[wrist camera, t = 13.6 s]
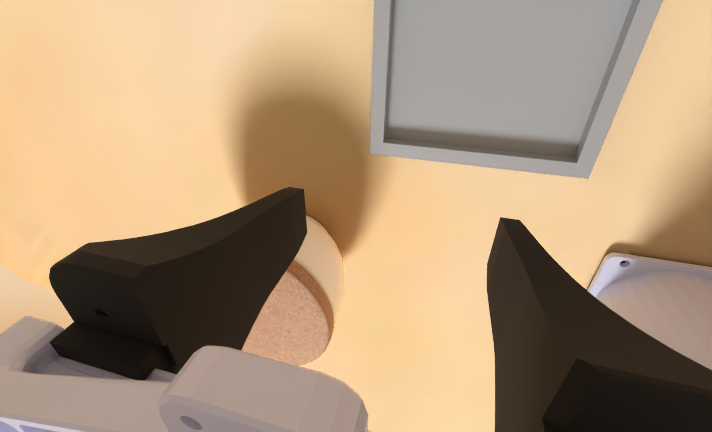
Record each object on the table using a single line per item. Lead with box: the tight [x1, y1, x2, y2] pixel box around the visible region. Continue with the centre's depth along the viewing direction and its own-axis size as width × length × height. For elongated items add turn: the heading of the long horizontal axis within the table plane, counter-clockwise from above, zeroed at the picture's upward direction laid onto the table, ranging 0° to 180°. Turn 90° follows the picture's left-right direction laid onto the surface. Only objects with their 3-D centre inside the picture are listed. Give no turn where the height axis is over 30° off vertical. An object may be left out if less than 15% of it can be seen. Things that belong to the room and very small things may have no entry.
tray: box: [370, 0, 663, 179], centre depth 18 cm, size 12×9×1 cm
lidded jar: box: [241, 215, 345, 366], centre depth 24 cm, size 11×11×9 cm
